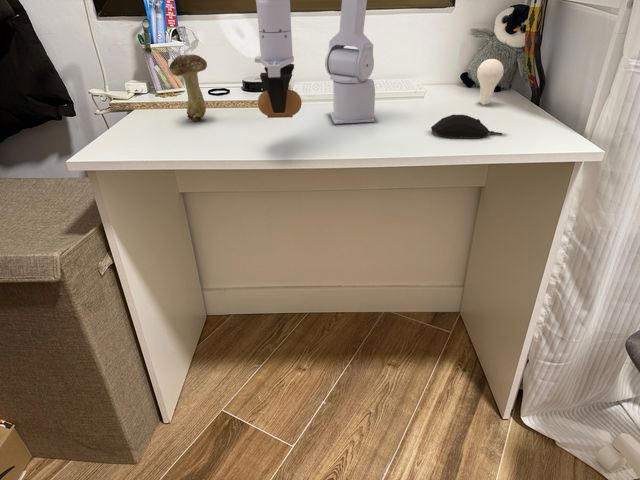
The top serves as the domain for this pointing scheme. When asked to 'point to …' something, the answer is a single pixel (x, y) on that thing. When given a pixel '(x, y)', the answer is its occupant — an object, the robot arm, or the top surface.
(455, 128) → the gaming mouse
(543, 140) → the top surface
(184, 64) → the mushroom
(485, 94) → the lightbulb
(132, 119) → the top surface
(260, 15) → the robot arm
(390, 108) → the top surface
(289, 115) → the potato
